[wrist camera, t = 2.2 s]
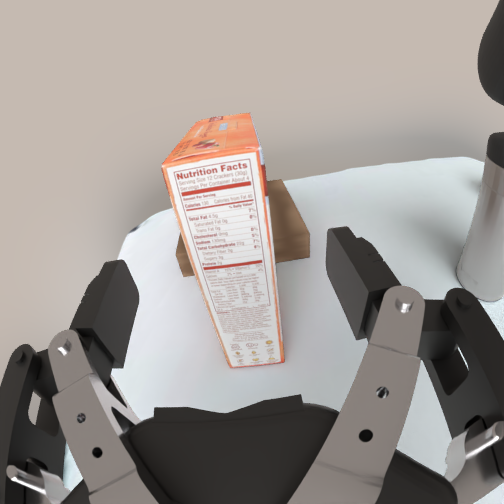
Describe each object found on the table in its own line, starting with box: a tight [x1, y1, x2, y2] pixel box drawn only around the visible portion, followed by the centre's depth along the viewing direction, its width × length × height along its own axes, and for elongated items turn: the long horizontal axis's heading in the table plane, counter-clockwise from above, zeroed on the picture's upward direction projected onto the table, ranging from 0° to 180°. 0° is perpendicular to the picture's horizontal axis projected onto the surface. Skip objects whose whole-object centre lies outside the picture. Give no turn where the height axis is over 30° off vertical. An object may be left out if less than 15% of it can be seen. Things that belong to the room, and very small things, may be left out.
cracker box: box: [161, 113, 285, 368], centre depth 25 cm, size 14×6×21 cm, turn 2°
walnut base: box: [176, 179, 310, 277], centre depth 46 cm, size 18×20×4 cm
